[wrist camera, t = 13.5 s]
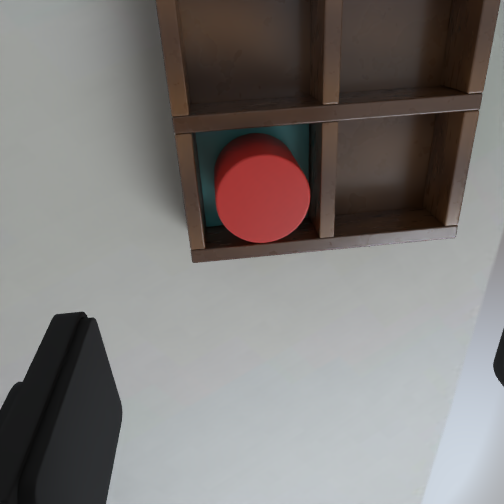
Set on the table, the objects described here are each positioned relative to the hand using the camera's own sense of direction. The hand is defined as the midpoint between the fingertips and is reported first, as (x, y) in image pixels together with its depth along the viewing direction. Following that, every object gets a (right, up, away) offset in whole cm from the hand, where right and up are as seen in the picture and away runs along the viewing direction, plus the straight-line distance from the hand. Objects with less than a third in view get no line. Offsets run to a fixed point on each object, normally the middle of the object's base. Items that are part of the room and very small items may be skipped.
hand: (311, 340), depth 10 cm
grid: (+2, +9, +11) cm, 14 cm away
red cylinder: (-1, +6, +12) cm, 13 cm away
